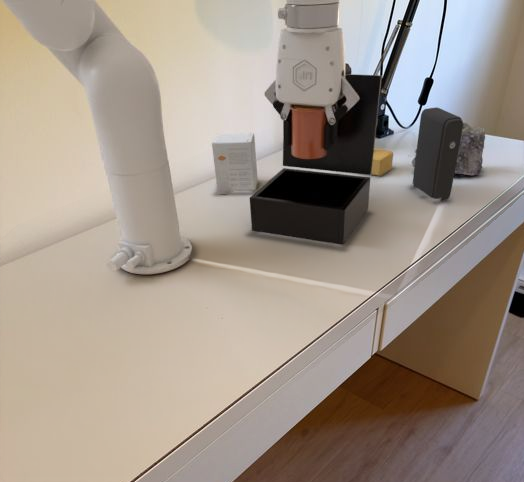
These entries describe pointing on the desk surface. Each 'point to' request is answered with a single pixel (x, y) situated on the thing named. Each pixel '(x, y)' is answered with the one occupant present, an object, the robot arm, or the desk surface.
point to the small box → (235, 162)
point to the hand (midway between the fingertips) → (309, 144)
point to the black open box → (310, 205)
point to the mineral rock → (469, 151)
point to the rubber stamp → (381, 161)
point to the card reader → (437, 152)
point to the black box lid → (349, 132)
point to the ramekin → (308, 131)
